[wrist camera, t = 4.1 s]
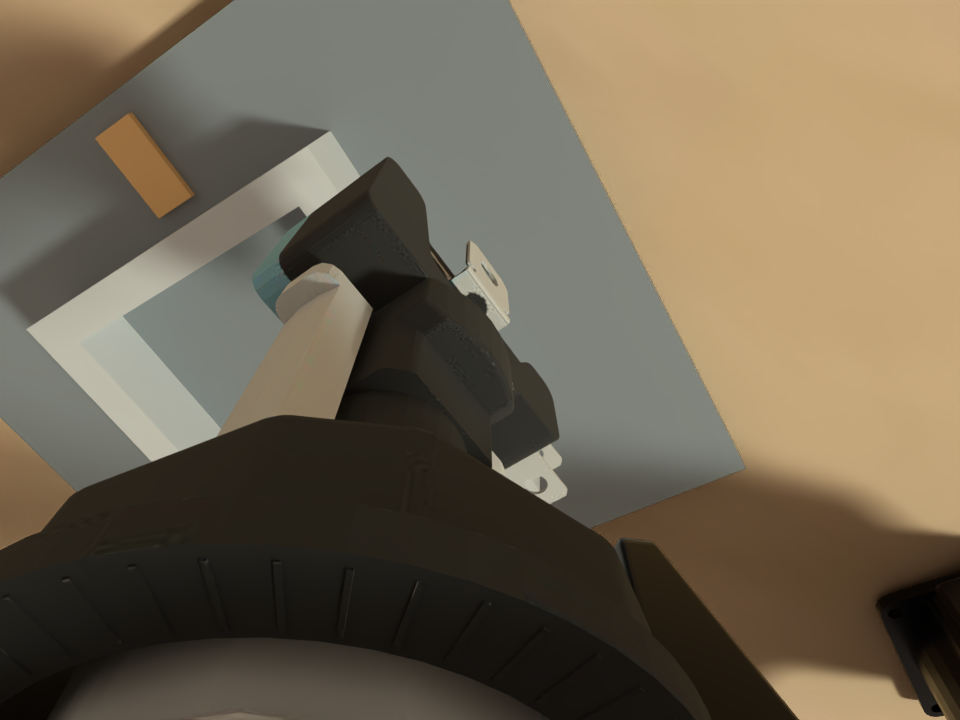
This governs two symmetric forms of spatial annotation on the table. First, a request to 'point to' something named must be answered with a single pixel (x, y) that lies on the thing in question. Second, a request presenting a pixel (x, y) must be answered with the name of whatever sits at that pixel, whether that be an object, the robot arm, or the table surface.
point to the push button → (344, 524)
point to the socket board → (296, 194)
